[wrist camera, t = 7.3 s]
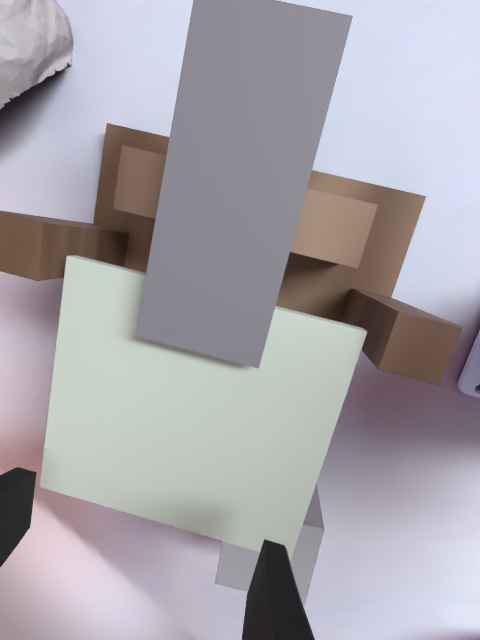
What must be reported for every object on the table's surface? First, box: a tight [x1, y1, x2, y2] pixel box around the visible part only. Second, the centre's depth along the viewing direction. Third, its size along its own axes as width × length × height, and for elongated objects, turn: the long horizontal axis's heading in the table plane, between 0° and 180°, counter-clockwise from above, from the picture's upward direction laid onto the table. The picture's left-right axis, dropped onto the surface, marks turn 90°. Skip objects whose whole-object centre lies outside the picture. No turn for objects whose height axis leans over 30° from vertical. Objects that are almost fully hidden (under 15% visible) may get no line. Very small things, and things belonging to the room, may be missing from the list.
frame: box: [0, 123, 462, 385], centre depth 14 cm, size 16×7×8 cm, turn 76°
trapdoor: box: [39, 0, 367, 561], centre depth 12 cm, size 11×18×3 cm, turn 166°
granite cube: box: [215, 484, 324, 605], centre depth 19 cm, size 4×4×5 cm
